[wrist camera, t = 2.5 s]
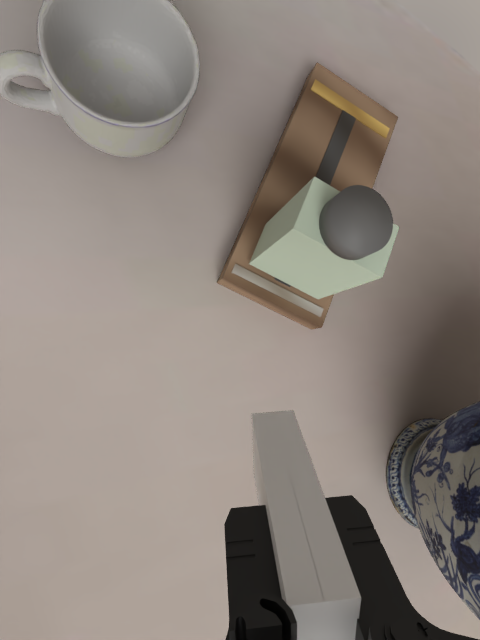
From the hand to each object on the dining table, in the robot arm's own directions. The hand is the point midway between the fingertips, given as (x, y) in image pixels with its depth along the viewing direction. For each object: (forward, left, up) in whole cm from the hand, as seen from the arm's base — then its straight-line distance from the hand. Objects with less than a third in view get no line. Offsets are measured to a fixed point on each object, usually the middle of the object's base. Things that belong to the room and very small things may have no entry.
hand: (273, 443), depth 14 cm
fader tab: (-4, +14, -17) cm, 23 cm away
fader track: (-8, +21, -20) cm, 30 cm away
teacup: (-24, +9, -20) cm, 32 cm away
